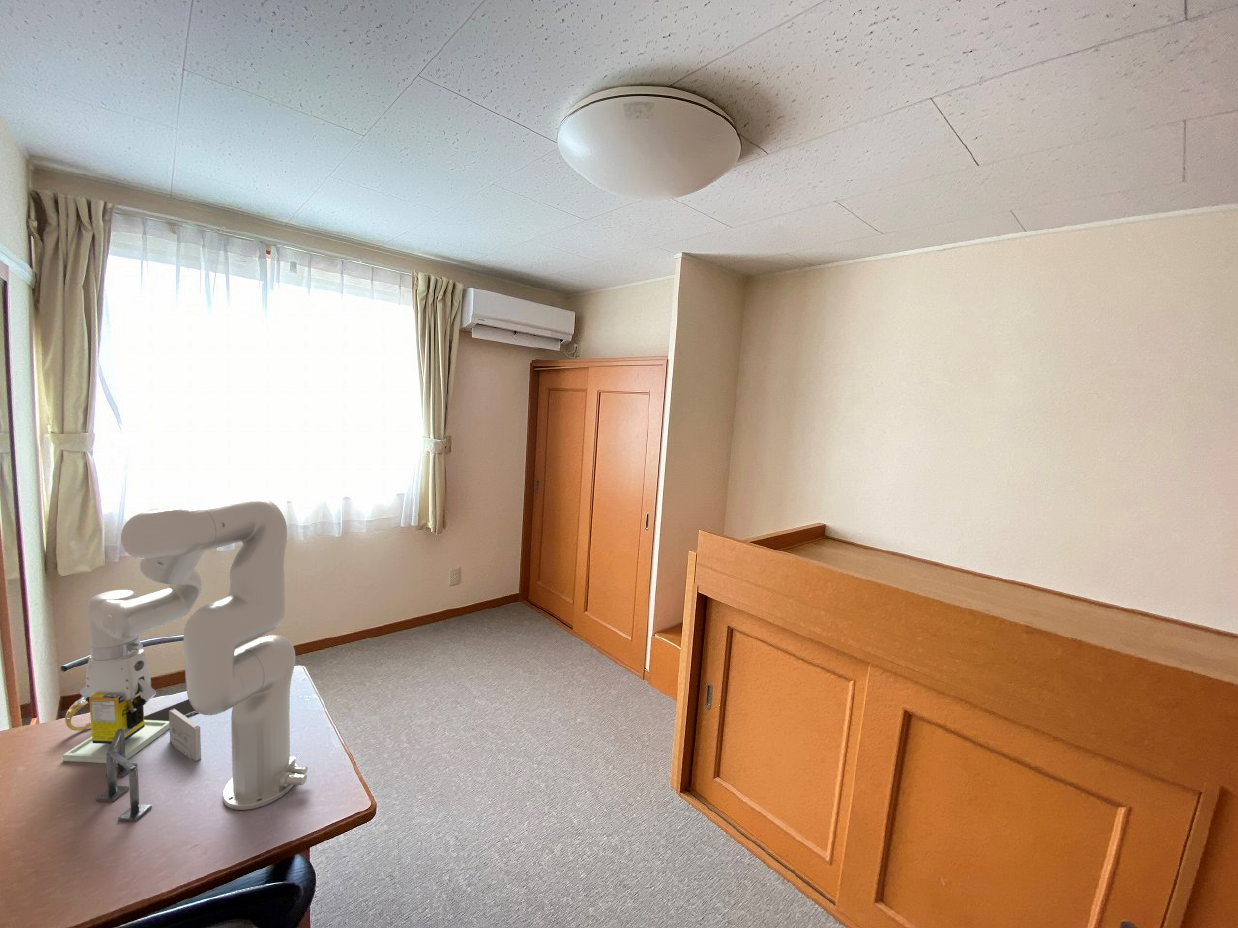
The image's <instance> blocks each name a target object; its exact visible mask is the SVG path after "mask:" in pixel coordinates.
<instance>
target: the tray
mask: <svg viewBox="0 0 1238 928" xmlns="http://www.w3.org/2000/svg"><path fill="white" fill-rule="evenodd" d="M144 724H145V727H144V728H142V729H141V730H140V731H138V732H137V733H135V734H134V735H132V736H131V737H130V738H128V739H127V740H125V757H126V760H128V761H129V759H130V758H132V757H133V756H134V755H136V754H138V753H139V751H141V750H142V749H144V748H145V747H146V746H148V745H149V744H151V743H152V742H154V741H155V740H156V739H158V737H160V736H161V735H163V734H164V733H166V732H167V731H168V730H170V727H169V721H156V720H144ZM110 745H111V744H100V743H93V742H92V735H91V736H90V737H89V738H86V739H85V740H83V741H82V742H81V743H79V744H77V745H75V746H74V747H72V749H71V748H70V750H68V751H67V752H65V753H63V754H62V761H64V762H73V763H74V762H77V763H94V764H95V763H96V764H97V763H98V764H99V763H100V764H107V760H106V754H107V753H108V750H109V748H110ZM114 751H116V752H117V746H116V748H115V750H114ZM116 765H118V764H117V761H116Z"/></svg>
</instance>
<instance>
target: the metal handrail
mask: <svg viewBox="0 0 1238 928" xmlns="http://www.w3.org/2000/svg"><path fill="white" fill-rule="evenodd" d="M116 746H117V752H116V751H114V750H115V748H116ZM106 760H107V763H106V775H105V776H106V777H107V789H106V790H105V791H104V792H102V793H101V794H100V795H98V797H96V798H95V801H96V802H101V803H102V802H103V803H106V802H107V803H114V802H115V801H117V800H118V799H119V798H120V797H122V796H123V795H124V794H125V793H127V792H128V791H129V808H128V809H127V810H126V811H124V812H123V813H122V814H121V815H120V816H119V817H118V818H117V821H118V822H135V823H136V822H138V821H139V819H141V818H142V817H143V816H144V815H145V814H147V812H149V811H150V810H151V809H152V808H153V805H152V804H146V803H145V804H144V803H143V804H142V803H140V790H139V789H140V788H139V769H138V763H134V762H133V763H132V762H131V761H129V759H128V760H126V757H125V738H124V730H122V729H118V730H117V732H116V734H115V736H114V739H113V741H112V743H111V745H110V748H109V750H108V753H107V754H106ZM116 761H117V764H116ZM126 775H128V784H129V785H128V786H125V785H118V783H117V780H118V779H117V778H124V777H125V776H126Z"/></svg>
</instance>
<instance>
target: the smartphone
mask: <svg viewBox="0 0 1238 928" xmlns="http://www.w3.org/2000/svg"><path fill="white" fill-rule="evenodd" d="M172 709H175V710H177V711H178V712H180V713H181V714H183V715H184V716H186V717H187V718H189V717H191V716H194V715H196V714H199V713H198V712H197V711H196V710H195V709H194V708H193V707H192V705H191V703H190V701H189V699H186V700H182V701H180V702H177V703H175V704H173V705H170V706H167V707H165V708H163V709H160V710H157V711H154V712H152V713H150V714H147V715H144V720H156V721H169V710H172Z"/></svg>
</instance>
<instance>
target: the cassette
mask: <svg viewBox="0 0 1238 928" xmlns="http://www.w3.org/2000/svg"><path fill="white" fill-rule="evenodd" d="M169 727H170V728H169V741H170V742H171V745H172V747H174V749H176V750H178V751H179V752H181V753H182V755H184V756H185V757H187V758H188V759H189V760H191V759H193V760H194V761H196V762H197V761H199V760H200V759H202V750H201V749H202V747H201V746H202V745H201V744H202V742H201V741H202V738H201V737H202V736H201V726H200V725H199V724H197V723H196V722H194V721H193V720H192V719H190V718H189V717H186V716H184V715H183V714H181V713H180V712H178V711H177V710H175V709H172V710H169Z"/></svg>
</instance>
